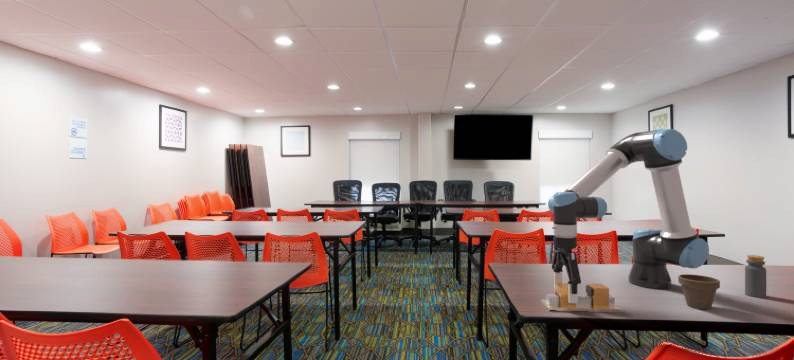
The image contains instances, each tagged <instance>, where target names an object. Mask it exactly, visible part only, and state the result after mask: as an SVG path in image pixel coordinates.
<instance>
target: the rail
mask: <svg viewBox="0 0 794 360" xmlns="http://www.w3.org/2000/svg"><path fill="white" fill-rule="evenodd" d="M615 299H616V298H615V297H614V296H613V295H611V294H610V288H609V287H607V286H606V285H604V284H603V283H586V285H585V294H582V293H581V294H580V293H578V303H576V307H561V306H560V296H559V295H558V294H555V293H546V296H545V299H540V302H542V303H543V304H544V305H545V306H546V307H547V308H548V309H549V310H556V311H555V312H571V311H588V312H587V313H623V308H621V307H619V305H616V304H615V302H616V301H615ZM542 303H541V304H542ZM543 304H542V305H543ZM544 305H543V306H544ZM545 306H544V307H545ZM546 307H545V308H546ZM547 308H546V309H547ZM548 309H547V310H548ZM549 310H548V311H549Z"/></svg>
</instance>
